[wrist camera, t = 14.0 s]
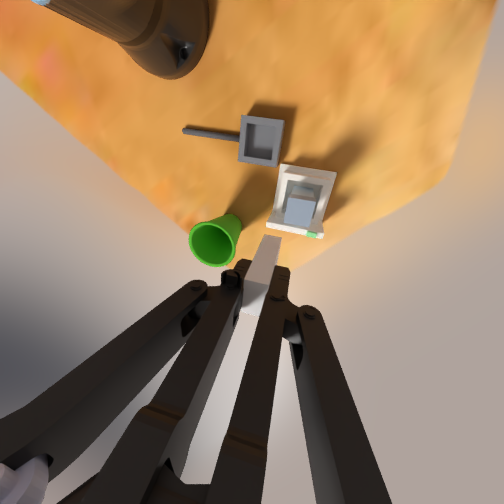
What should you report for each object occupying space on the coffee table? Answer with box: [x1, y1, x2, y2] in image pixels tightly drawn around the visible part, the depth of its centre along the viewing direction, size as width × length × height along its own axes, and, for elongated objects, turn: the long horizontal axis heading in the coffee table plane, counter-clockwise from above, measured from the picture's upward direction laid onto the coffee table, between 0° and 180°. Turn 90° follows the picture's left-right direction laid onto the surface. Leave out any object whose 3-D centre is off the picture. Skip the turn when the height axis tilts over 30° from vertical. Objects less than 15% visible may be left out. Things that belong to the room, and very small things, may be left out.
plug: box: [283, 185, 316, 227], centre depth 34 cm, size 4×4×10 cm
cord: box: [182, 128, 240, 142], centre depth 38 cm, size 1×12×1 cm, turn 83°
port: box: [266, 164, 337, 239], centre depth 36 cm, size 10×10×8 cm
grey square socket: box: [238, 115, 285, 167], centre depth 35 cm, size 7×7×3 cm
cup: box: [189, 214, 242, 267], centre depth 41 cm, size 9×9×11 cm
